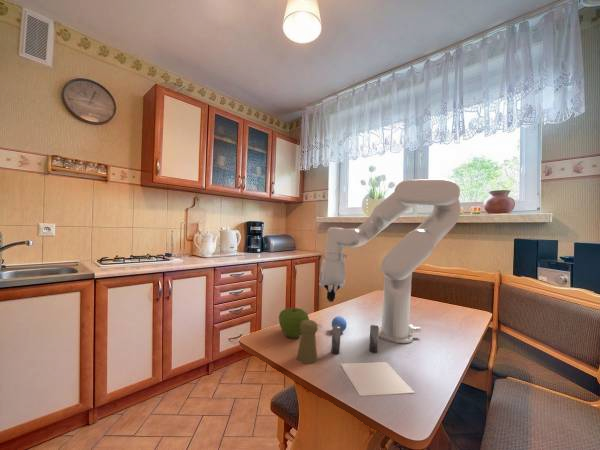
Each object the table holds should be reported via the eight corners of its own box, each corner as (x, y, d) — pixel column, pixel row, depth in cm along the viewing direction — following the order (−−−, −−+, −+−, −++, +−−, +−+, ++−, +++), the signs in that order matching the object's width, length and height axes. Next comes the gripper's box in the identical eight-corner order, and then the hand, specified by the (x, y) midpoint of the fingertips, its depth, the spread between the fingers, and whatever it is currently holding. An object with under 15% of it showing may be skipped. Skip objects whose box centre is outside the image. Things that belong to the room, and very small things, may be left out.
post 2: (375, 349, 85) (376, 325, 85) (378, 353, 82) (380, 328, 82) (367, 349, 84) (369, 325, 85) (371, 353, 82) (372, 328, 82)
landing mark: (385, 362, 77) (385, 362, 77) (414, 393, 63) (414, 392, 63) (340, 364, 74) (340, 363, 74) (359, 396, 60) (359, 395, 60)
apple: (314, 337, 92) (315, 309, 92) (291, 345, 85) (293, 314, 85) (293, 327, 100) (295, 301, 100) (271, 334, 93) (273, 306, 93)
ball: (343, 328, 101) (344, 314, 101) (348, 334, 96) (349, 319, 96) (329, 328, 100) (330, 314, 100) (333, 334, 95) (334, 319, 95)
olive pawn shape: (296, 353, 79) (298, 317, 80) (315, 353, 80) (317, 317, 80) (297, 363, 73) (299, 324, 74) (318, 363, 74) (320, 325, 74)
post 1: (338, 350, 83) (339, 325, 83) (340, 354, 80) (341, 328, 80) (330, 350, 82) (331, 325, 82) (332, 354, 80) (333, 328, 80)
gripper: (348, 256, 113) (344, 298, 113) (314, 254, 110) (311, 297, 110) (354, 259, 105) (350, 304, 106) (319, 257, 103) (315, 303, 103)
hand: (330, 300), depth 108 cm, fingers closed
